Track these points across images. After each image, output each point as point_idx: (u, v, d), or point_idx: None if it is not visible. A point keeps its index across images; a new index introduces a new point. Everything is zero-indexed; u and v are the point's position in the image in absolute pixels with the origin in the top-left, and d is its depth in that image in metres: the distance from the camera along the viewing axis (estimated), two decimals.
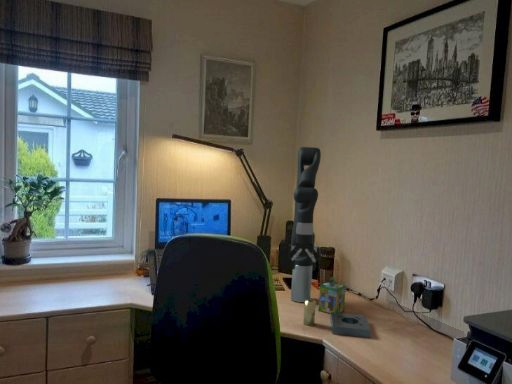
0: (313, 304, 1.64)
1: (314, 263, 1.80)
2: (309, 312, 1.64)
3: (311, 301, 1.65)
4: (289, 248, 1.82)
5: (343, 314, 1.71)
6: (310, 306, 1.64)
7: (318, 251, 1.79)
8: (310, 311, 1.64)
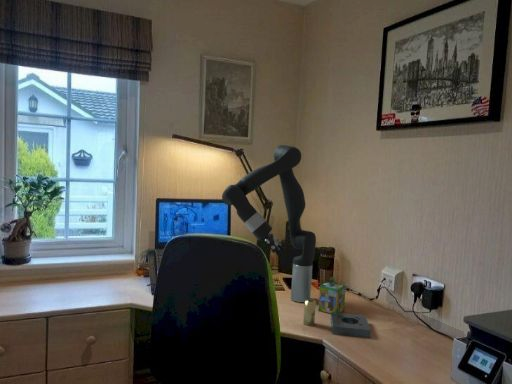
0: (313, 304, 1.64)
1: (277, 253, 1.61)
2: (309, 312, 1.64)
3: (311, 301, 1.65)
4: None
5: (343, 314, 1.71)
6: (310, 306, 1.64)
7: None
8: (310, 311, 1.64)
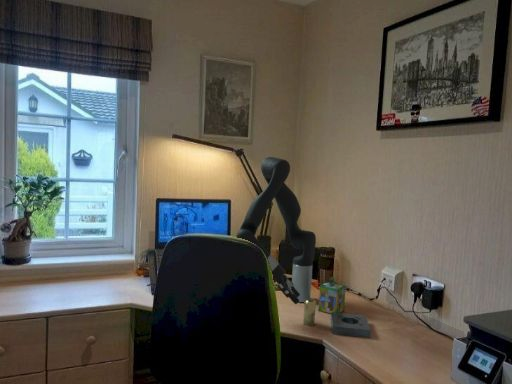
0: (313, 304, 1.64)
1: (290, 298, 1.62)
2: (309, 312, 1.64)
3: (311, 301, 1.65)
4: None
5: (343, 314, 1.71)
6: (310, 306, 1.64)
7: None
8: (310, 311, 1.64)
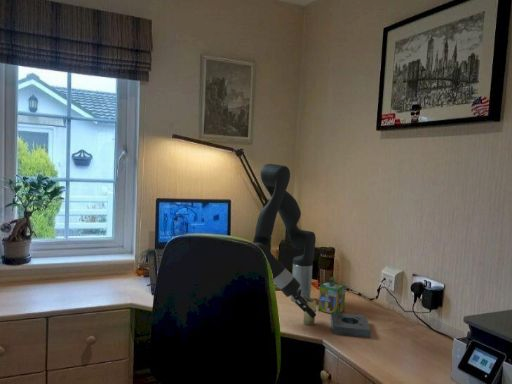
0: (313, 304, 1.64)
1: (307, 312, 1.63)
2: None
3: (311, 301, 1.65)
4: None
5: (343, 314, 1.71)
6: (310, 306, 1.64)
7: None
8: None
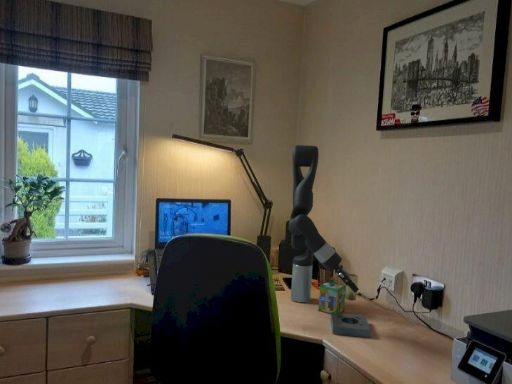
0: (355, 278, 1.61)
1: (350, 286, 1.60)
2: None
3: (353, 275, 1.62)
4: None
5: (343, 314, 1.71)
6: (352, 280, 1.61)
7: (340, 278, 1.58)
8: None
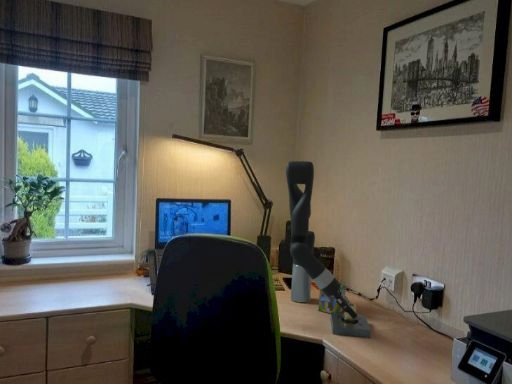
0: (354, 308, 1.62)
1: (348, 312, 1.60)
2: (349, 316, 1.62)
3: (352, 305, 1.63)
4: None
5: (343, 314, 1.71)
6: None
7: None
8: None
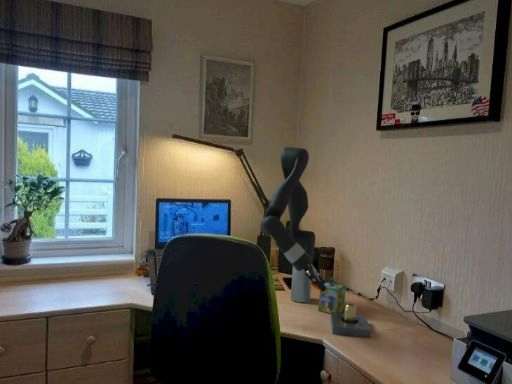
0: (354, 308, 1.62)
1: (318, 285, 1.60)
2: (349, 316, 1.62)
3: (352, 305, 1.63)
4: None
5: (343, 314, 1.71)
6: (351, 310, 1.62)
7: None
8: (351, 315, 1.62)
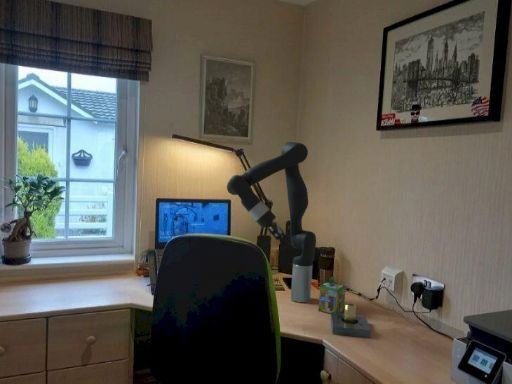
0: (354, 308, 1.62)
1: (280, 241, 1.67)
2: (349, 316, 1.62)
3: (351, 305, 1.63)
4: None
5: (343, 314, 1.71)
6: (351, 310, 1.62)
7: None
8: (351, 315, 1.62)
